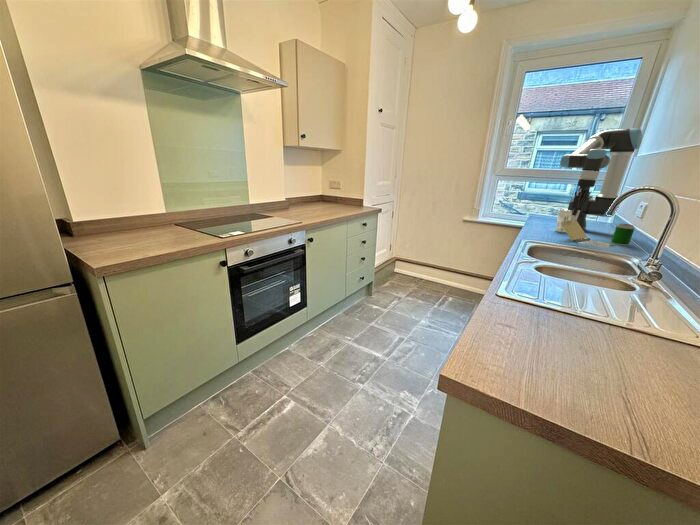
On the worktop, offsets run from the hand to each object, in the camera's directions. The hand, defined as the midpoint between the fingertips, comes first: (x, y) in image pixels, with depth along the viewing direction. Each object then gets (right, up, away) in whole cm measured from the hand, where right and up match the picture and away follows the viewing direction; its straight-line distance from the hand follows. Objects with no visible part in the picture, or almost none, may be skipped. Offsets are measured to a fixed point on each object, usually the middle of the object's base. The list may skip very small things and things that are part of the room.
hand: (573, 220), depth 165 cm
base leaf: (+5, -15, -8) cm, 18 cm away
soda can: (+21, -15, -6) cm, 27 cm away
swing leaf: (0, -7, -1) cm, 7 cm away
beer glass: (+8, -5, +22) cm, 24 cm away
